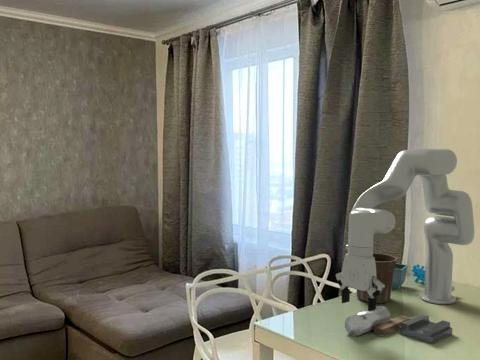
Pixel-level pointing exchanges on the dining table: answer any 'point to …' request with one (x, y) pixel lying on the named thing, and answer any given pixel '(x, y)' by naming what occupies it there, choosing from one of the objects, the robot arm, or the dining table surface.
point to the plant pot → (381, 277)
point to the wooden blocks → (390, 325)
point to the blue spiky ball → (419, 273)
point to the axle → (366, 320)
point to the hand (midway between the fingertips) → (358, 306)
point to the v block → (425, 329)
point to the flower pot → (399, 275)
